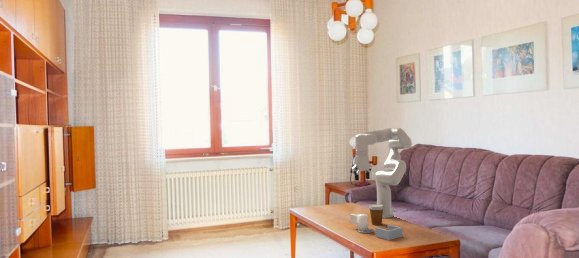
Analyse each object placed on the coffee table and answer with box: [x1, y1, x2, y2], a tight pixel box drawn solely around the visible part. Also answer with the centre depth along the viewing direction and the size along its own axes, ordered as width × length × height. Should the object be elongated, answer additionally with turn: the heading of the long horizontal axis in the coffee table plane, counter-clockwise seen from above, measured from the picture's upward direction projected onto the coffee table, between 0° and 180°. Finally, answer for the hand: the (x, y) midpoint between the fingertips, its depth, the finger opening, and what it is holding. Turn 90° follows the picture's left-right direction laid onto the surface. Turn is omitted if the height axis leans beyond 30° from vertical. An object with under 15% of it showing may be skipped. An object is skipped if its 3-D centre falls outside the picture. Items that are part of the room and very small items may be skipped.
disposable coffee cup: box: [368, 203, 384, 226], centre depth 279 cm, size 10×10×12 cm
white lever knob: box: [349, 213, 369, 231], centre depth 267 cm, size 13×6×9 cm, turn 36°
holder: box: [374, 224, 404, 241], centre depth 250 cm, size 11×10×5 cm
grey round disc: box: [356, 227, 375, 234], centre depth 262 cm, size 10×10×1 cm
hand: (362, 179), depth 283 cm, fingers open, 9 cm apart
